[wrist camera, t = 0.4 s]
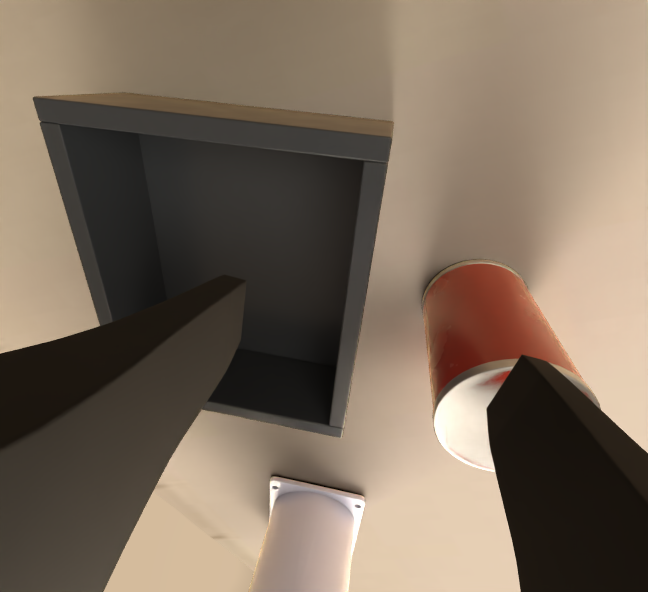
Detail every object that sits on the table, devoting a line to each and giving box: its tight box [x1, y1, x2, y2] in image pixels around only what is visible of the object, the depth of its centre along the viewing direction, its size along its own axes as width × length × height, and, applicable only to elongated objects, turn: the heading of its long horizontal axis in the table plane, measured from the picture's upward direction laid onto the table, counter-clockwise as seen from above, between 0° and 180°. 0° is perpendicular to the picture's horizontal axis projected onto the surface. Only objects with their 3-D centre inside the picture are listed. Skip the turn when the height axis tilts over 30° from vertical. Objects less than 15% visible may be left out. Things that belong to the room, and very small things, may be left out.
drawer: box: [33, 93, 394, 438], centre depth 18 cm, size 15×13×5 cm
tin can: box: [422, 259, 601, 471], centre depth 16 cm, size 5×5×8 cm
